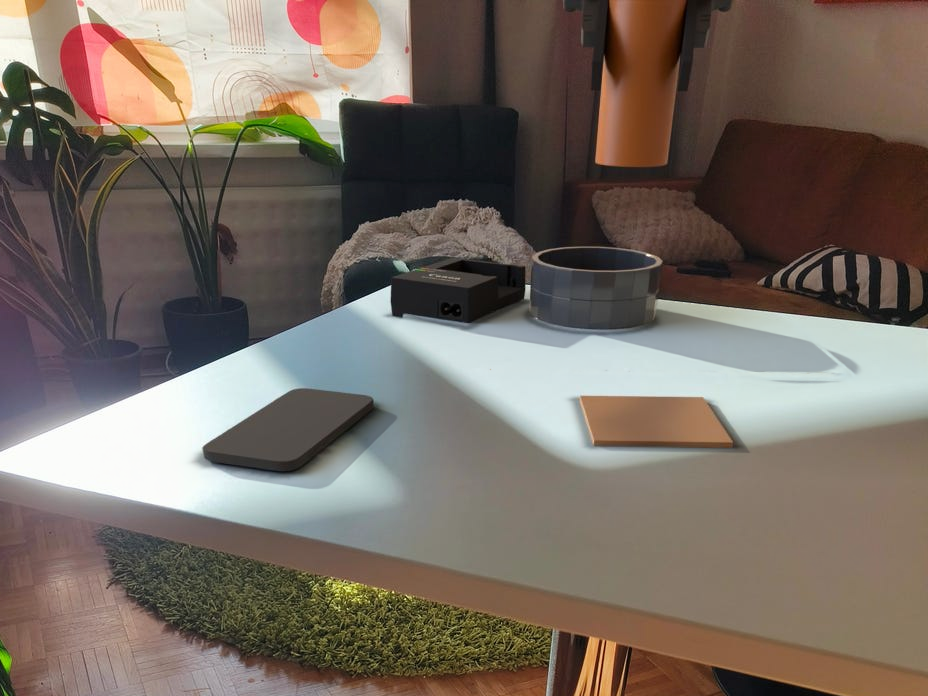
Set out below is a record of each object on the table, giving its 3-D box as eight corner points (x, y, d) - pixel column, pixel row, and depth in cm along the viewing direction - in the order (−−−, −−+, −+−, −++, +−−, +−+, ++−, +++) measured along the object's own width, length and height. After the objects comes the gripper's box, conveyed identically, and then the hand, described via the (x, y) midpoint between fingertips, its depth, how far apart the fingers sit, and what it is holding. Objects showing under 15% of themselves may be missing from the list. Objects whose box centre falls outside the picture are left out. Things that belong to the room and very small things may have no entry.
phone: (378, 396, 71) (292, 463, 59) (379, 406, 71) (293, 475, 59) (294, 386, 73) (194, 450, 61) (295, 396, 73) (196, 461, 61)
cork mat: (702, 403, 72) (703, 396, 72) (732, 448, 64) (733, 442, 64) (579, 401, 73) (579, 395, 72) (593, 447, 64) (594, 440, 64)
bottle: (660, 159, 78) (690, -98, 68) (673, 167, 73) (707, -110, 63) (591, 159, 78) (612, -98, 68) (599, 166, 73) (622, -110, 63)
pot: (643, 304, 100) (650, 247, 97) (664, 335, 89) (673, 272, 86) (526, 303, 101) (529, 246, 97) (533, 334, 90) (536, 271, 86)
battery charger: (468, 329, 91) (469, 288, 89) (390, 316, 95) (389, 277, 93) (525, 303, 100) (526, 265, 98) (452, 293, 104) (452, 257, 102)
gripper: (771, -119, 76) (756, 116, 71) (547, -114, 78) (519, 113, 74) (794, -220, 68) (779, 34, 64) (546, -211, 71) (515, 34, 66)
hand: (640, 76), depth 69 cm, fingers closed on bottle, 6 cm apart
